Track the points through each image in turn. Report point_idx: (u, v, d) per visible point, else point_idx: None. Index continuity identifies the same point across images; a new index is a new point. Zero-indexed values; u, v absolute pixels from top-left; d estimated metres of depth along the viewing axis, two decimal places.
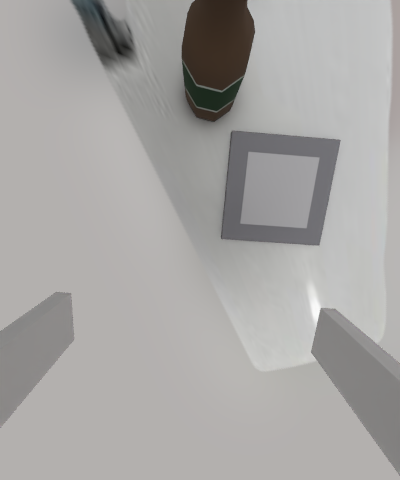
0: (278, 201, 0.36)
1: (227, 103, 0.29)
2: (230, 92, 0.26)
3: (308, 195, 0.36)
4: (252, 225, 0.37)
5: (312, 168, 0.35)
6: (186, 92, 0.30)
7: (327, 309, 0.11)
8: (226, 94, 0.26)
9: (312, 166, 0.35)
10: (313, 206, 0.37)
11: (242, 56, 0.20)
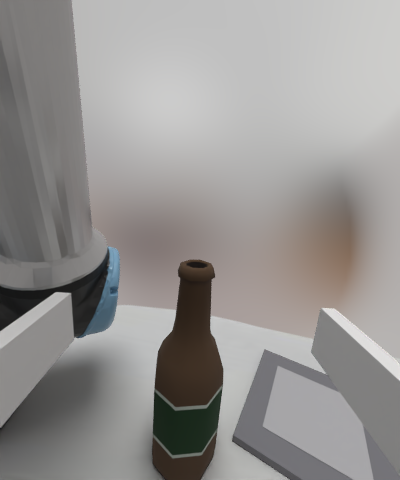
0: (326, 417, 0.30)
1: None
2: None
3: (315, 386, 0.35)
4: (373, 471, 0.24)
5: (287, 373, 0.37)
6: (175, 463, 0.21)
7: (327, 309, 0.11)
8: None
9: (285, 373, 0.37)
10: (328, 385, 0.35)
11: None
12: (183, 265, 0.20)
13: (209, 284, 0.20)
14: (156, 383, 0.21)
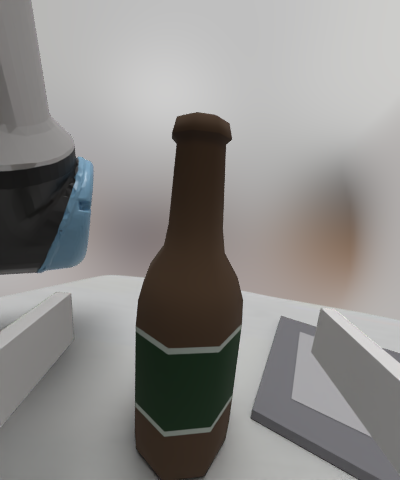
0: None
1: None
2: None
3: None
4: None
5: (313, 340, 0.29)
6: (169, 445, 0.13)
7: (327, 309, 0.11)
8: None
9: (311, 340, 0.29)
10: None
11: None
12: None
13: (222, 151, 0.12)
14: (138, 317, 0.13)
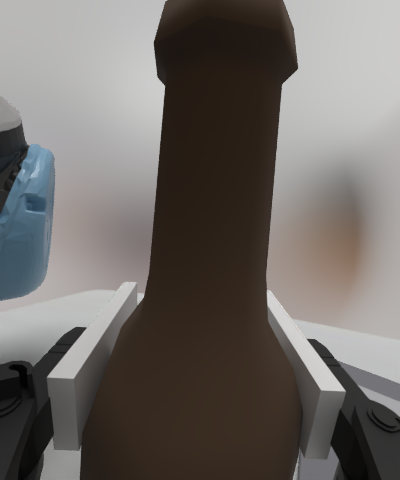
0: None
1: None
2: None
3: None
4: None
5: None
6: None
7: None
8: None
9: None
10: None
11: None
12: None
13: (276, 97, 0.05)
14: (84, 469, 0.06)
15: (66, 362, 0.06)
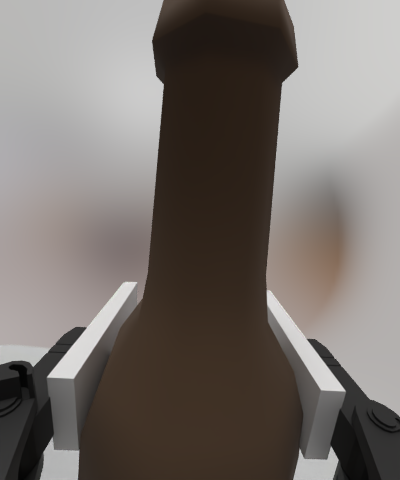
0: None
1: None
2: None
3: None
4: None
5: None
6: None
7: None
8: None
9: None
10: None
11: None
12: None
13: (276, 96, 0.05)
14: (82, 471, 0.06)
15: (66, 362, 0.06)
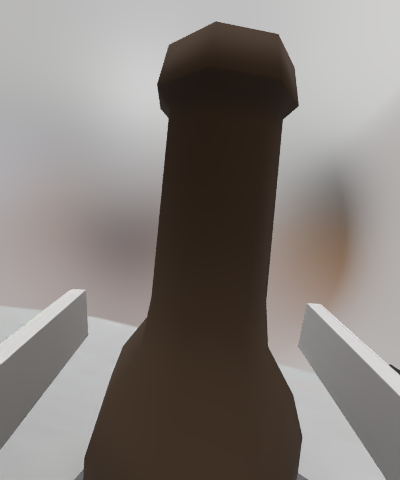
0: None
1: None
2: None
3: None
4: None
5: None
6: None
7: (313, 304, 0.11)
8: None
9: None
10: None
11: None
12: None
13: (277, 134, 0.05)
14: None
15: None
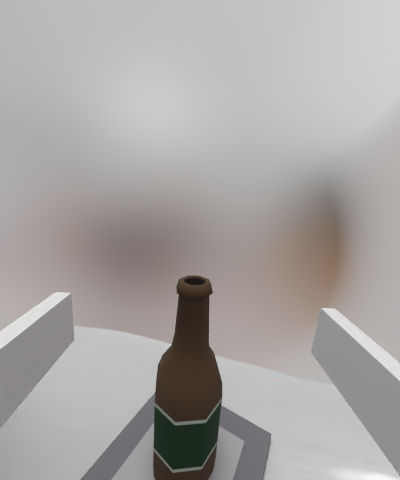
0: None
1: None
2: None
3: None
4: None
5: None
6: (175, 477, 0.21)
7: (327, 309, 0.11)
8: None
9: None
10: (219, 421, 0.31)
11: None
12: (182, 281, 0.20)
13: (207, 300, 0.21)
14: (156, 398, 0.21)
15: None
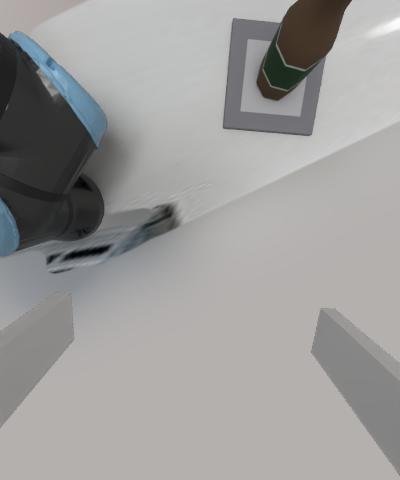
0: None
1: None
2: None
3: None
4: (303, 104, 0.41)
5: (256, 45, 0.39)
6: (286, 92, 0.37)
7: (327, 309, 0.11)
8: None
9: (255, 46, 0.39)
10: None
11: None
12: None
13: None
14: (289, 61, 0.29)
15: None
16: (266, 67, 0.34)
